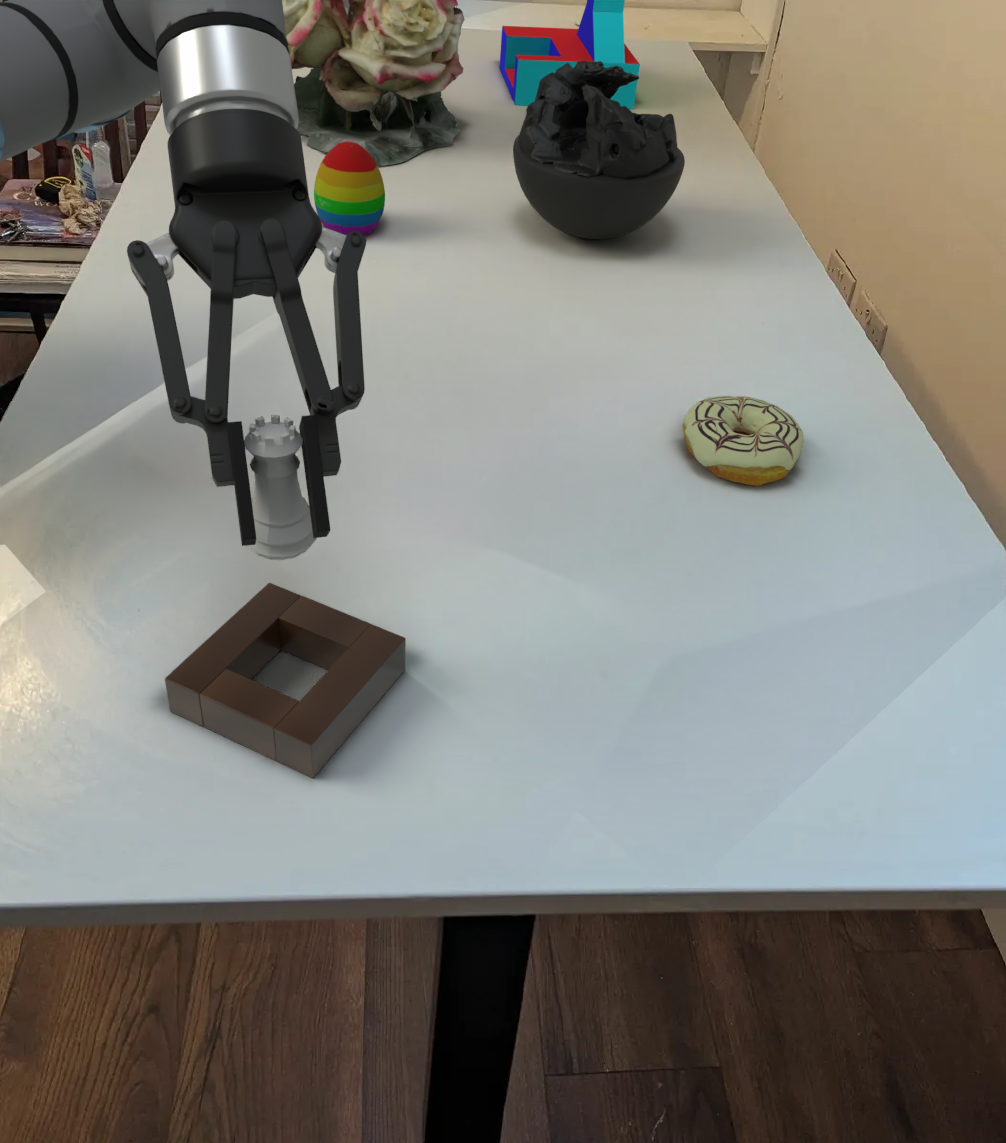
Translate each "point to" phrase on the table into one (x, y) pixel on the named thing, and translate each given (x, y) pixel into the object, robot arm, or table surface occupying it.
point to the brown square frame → (267, 717)
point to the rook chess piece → (278, 490)
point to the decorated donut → (743, 438)
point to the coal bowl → (594, 154)
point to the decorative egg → (349, 190)
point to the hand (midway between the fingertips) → (285, 537)
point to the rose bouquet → (375, 73)
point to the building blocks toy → (567, 51)
